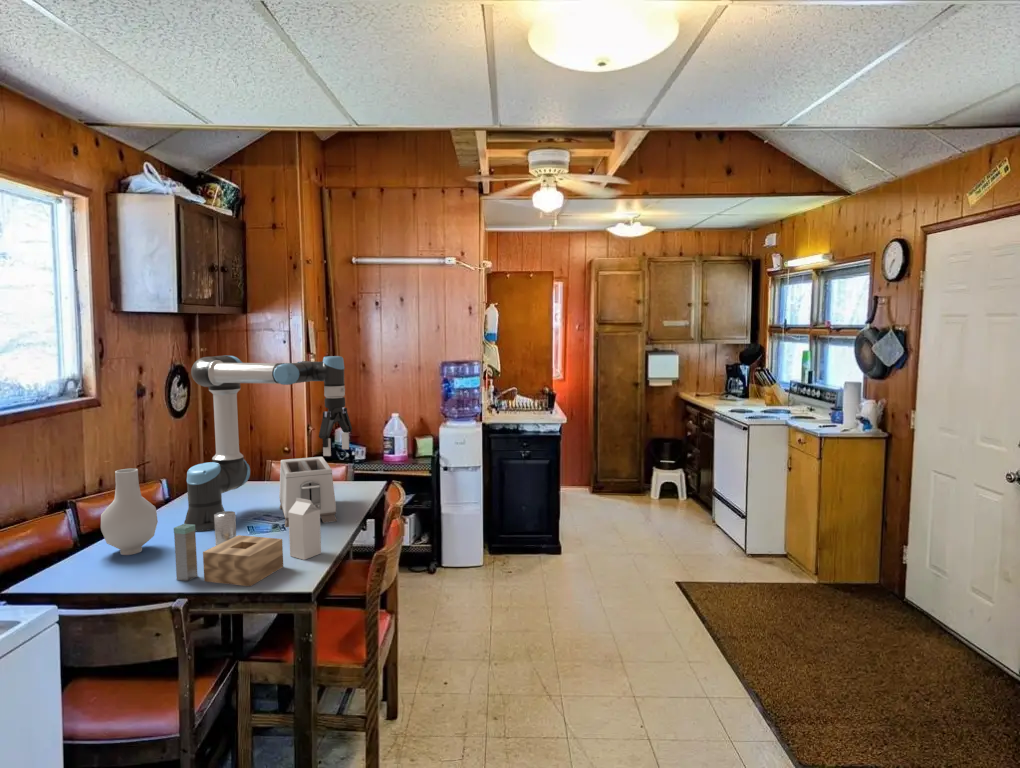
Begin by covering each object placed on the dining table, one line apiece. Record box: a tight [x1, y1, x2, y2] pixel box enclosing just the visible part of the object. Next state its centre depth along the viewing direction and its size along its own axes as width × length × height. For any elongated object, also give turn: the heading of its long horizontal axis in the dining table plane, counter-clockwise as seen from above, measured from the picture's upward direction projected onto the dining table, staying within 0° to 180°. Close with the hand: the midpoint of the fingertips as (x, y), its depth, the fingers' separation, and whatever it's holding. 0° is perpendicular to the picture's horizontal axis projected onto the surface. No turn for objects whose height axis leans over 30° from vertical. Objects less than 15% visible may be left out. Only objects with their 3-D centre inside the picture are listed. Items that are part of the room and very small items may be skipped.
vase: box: [100, 468, 159, 556], centre depth 216 cm, size 17×16×28 cm
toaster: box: [278, 456, 337, 528], centre depth 259 cm, size 19×34×21 cm, turn 24°
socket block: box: [202, 534, 284, 587], centre depth 196 cm, size 16×16×9 cm
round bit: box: [214, 510, 237, 546], centre depth 213 cm, size 6×6×14 cm
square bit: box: [173, 523, 199, 582], centre depth 193 cm, size 4×4×16 cm
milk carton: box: [288, 498, 322, 561], centre depth 212 cm, size 7×7×19 cm
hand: (336, 452), depth 244 cm, fingers open, 13 cm apart
